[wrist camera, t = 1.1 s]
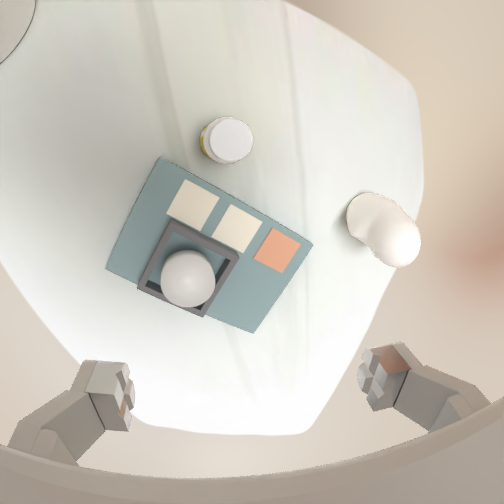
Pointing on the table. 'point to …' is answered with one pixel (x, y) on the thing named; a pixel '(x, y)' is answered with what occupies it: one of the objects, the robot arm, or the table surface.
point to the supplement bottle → (226, 140)
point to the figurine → (384, 229)
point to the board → (208, 245)
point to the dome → (187, 278)
